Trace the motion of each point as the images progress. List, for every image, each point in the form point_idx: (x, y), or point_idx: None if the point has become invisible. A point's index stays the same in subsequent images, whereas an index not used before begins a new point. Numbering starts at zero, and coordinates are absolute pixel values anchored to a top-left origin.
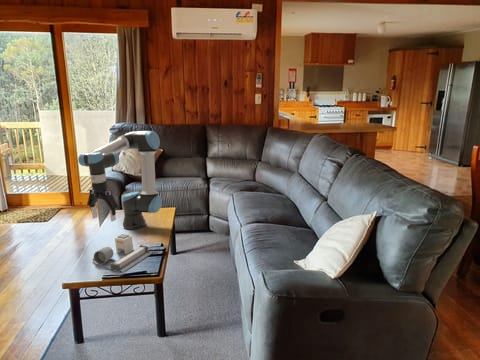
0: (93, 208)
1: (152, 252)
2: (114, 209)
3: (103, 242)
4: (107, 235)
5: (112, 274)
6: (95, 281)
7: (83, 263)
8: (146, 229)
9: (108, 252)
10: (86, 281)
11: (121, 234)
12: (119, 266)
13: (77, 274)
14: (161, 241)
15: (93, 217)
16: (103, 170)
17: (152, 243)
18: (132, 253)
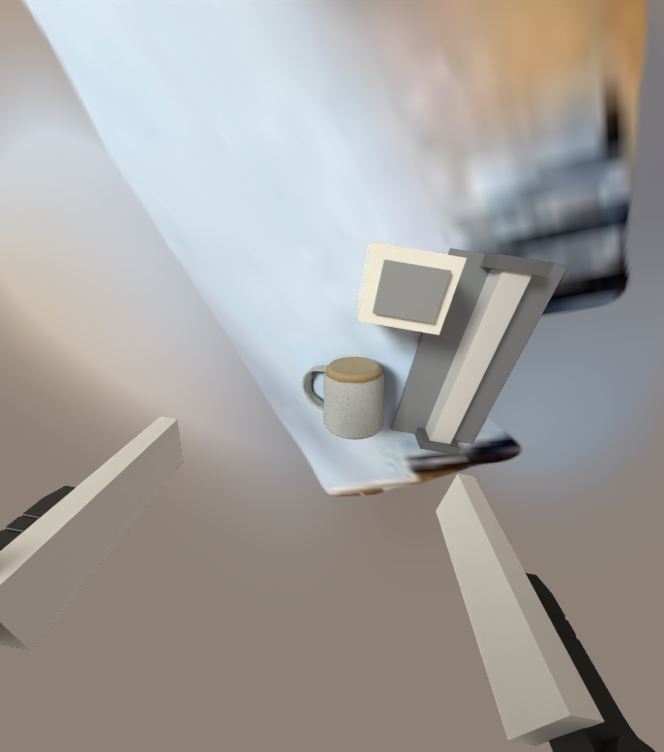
0: (54, 594)
1: (561, 275)
2: (616, 735)
3: (195, 187)
4: (115, 41)
5: (435, 453)
6: (402, 485)
7: (284, 406)
8: None
9: (380, 407)
10: (375, 487)
11: (383, 270)
12: (456, 442)
13: (321, 462)
14: (602, 53)
15: (172, 473)
16: None
17: (530, 120)
18: (477, 353)
